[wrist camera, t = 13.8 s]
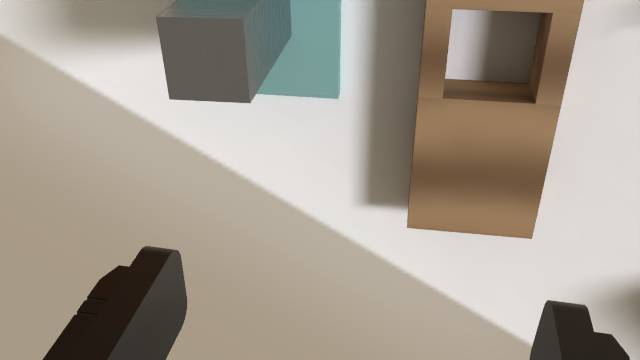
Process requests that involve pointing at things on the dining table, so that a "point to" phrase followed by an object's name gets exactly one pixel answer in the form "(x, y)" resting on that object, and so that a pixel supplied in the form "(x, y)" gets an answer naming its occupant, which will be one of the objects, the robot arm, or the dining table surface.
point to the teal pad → (309, 53)
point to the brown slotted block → (487, 127)
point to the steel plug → (221, 47)
